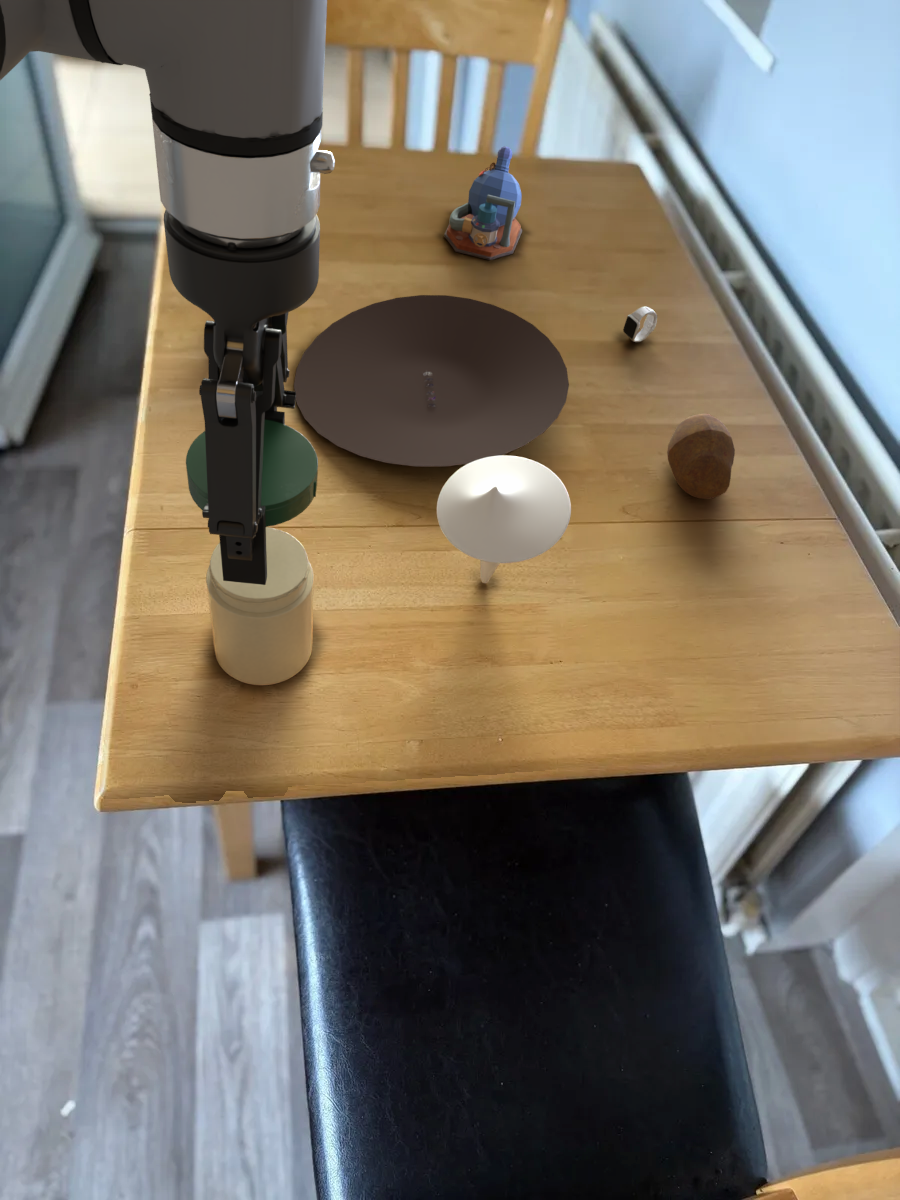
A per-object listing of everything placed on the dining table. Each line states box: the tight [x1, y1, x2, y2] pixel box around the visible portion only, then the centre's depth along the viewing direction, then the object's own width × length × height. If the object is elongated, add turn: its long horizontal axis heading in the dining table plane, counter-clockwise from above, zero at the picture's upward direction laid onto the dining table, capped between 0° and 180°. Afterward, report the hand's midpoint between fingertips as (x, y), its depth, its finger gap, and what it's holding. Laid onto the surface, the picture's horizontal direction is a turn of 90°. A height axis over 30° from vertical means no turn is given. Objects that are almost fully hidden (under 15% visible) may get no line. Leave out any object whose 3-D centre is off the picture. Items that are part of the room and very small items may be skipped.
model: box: [443, 145, 523, 261], centre depth 113 cm, size 12×9×9 cm
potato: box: [666, 413, 736, 500], centre depth 89 cm, size 7×10×6 cm
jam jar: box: [205, 526, 315, 686], centre depth 68 cm, size 8×8×10 cm
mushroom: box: [436, 455, 572, 584], centre depth 74 cm, size 10×11×12 cm
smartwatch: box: [622, 306, 658, 343], centre depth 104 cm, size 4×2×4 cm, turn 121°
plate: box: [293, 294, 570, 467], centre depth 93 cm, size 28×28×4 cm
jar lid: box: [185, 419, 319, 527], centre depth 57 cm, size 8×8×2 cm
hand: (255, 529), depth 61 cm, fingers closed on jar lid, 8 cm apart
